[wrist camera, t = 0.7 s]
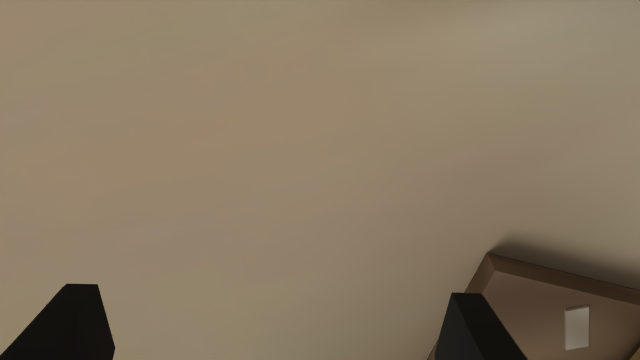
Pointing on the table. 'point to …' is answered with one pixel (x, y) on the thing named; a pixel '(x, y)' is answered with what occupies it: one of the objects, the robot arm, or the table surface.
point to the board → (559, 311)
